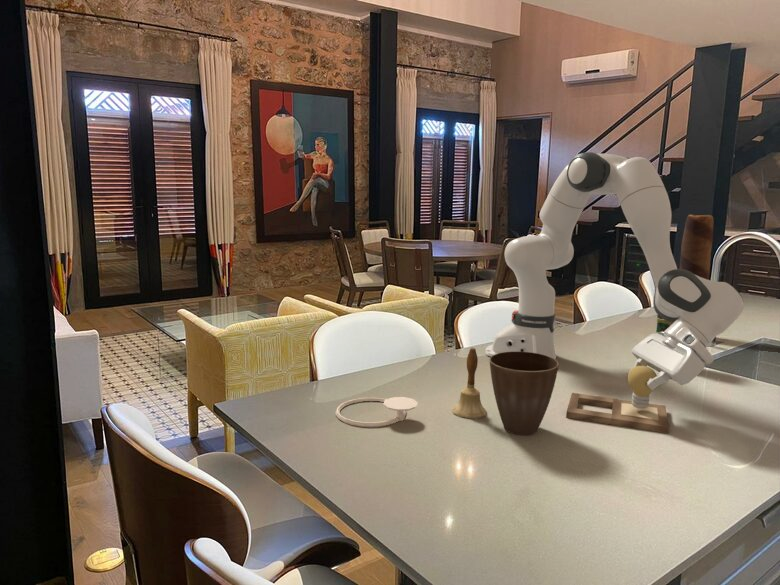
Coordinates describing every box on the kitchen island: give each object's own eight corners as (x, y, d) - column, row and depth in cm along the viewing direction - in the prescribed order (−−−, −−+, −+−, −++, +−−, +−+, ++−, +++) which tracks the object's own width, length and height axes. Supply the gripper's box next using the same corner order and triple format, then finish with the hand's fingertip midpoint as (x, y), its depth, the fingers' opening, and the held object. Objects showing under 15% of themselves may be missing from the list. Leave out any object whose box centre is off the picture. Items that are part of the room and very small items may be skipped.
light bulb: (620, 402, 140) (624, 362, 138) (645, 401, 140) (649, 362, 139) (633, 412, 134) (637, 370, 132) (659, 411, 134) (664, 370, 132)
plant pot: (515, 448, 120) (519, 374, 118) (473, 422, 133) (476, 355, 131) (568, 435, 127) (573, 365, 124) (523, 411, 140) (527, 348, 137)
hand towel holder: (359, 381, 149) (431, 395, 139) (359, 397, 150) (431, 412, 140) (321, 401, 134) (399, 418, 124) (321, 419, 135) (399, 437, 125)
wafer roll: (670, 337, 214) (683, 214, 206) (673, 331, 223) (686, 213, 215) (702, 341, 208) (716, 215, 200) (704, 335, 217) (718, 214, 209)
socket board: (566, 417, 137) (566, 410, 137) (571, 398, 150) (572, 391, 149) (668, 433, 129) (669, 426, 129) (664, 411, 142) (665, 404, 141)
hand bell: (489, 408, 142) (492, 345, 139) (483, 420, 135) (486, 354, 132) (456, 403, 145) (458, 342, 142) (448, 415, 137) (450, 351, 134)
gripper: (652, 321, 144) (611, 359, 145) (702, 343, 124) (654, 387, 125) (667, 338, 146) (626, 376, 147) (719, 362, 126) (671, 406, 127)
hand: (639, 381), depth 136 cm, fingers closed on light bulb, 6 cm apart
